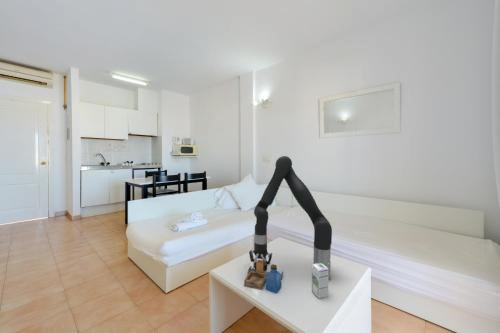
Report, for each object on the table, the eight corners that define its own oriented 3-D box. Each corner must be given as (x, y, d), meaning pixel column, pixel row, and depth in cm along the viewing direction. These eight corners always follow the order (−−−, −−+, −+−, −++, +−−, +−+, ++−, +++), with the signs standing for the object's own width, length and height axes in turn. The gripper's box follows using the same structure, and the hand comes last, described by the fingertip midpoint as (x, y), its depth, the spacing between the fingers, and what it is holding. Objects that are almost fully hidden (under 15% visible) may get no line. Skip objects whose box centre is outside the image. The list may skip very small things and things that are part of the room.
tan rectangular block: (264, 270, 123) (264, 260, 123) (262, 274, 119) (262, 263, 119) (252, 268, 126) (252, 258, 125) (250, 271, 122) (250, 261, 122)
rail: (283, 276, 120) (283, 271, 120) (281, 280, 116) (282, 275, 116) (250, 270, 126) (250, 266, 126) (248, 273, 122) (248, 269, 122)
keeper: (267, 279, 117) (267, 273, 117) (262, 289, 107) (262, 284, 107) (250, 276, 120) (250, 270, 120) (244, 286, 110) (244, 280, 110)
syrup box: (328, 296, 102) (329, 267, 102) (318, 299, 101) (318, 269, 100) (321, 289, 108) (321, 262, 107) (311, 291, 106) (311, 263, 105)
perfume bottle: (276, 293, 104) (276, 270, 104) (265, 289, 108) (265, 266, 107) (281, 287, 110) (281, 264, 109) (270, 283, 113) (271, 261, 112)
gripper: (274, 240, 123) (273, 268, 123) (250, 237, 127) (250, 264, 128) (271, 245, 115) (271, 275, 116) (246, 241, 120) (246, 270, 121)
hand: (260, 269), depth 122 cm, fingers open, 5 cm apart
